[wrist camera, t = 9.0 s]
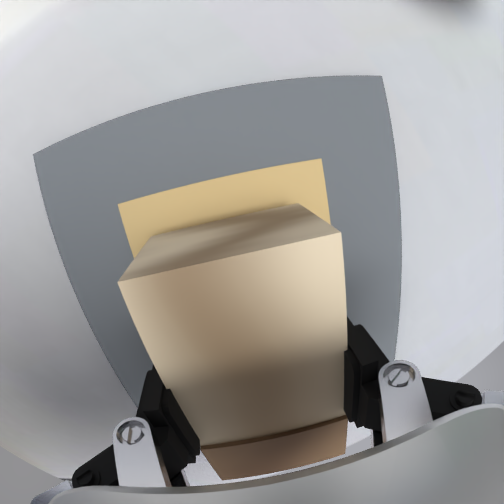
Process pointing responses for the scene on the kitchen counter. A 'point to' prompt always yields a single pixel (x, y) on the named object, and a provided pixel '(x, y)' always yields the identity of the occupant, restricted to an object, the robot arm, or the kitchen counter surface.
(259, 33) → the kitchen counter surface
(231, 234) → the birch block
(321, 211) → the mat
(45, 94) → the kitchen counter surface
